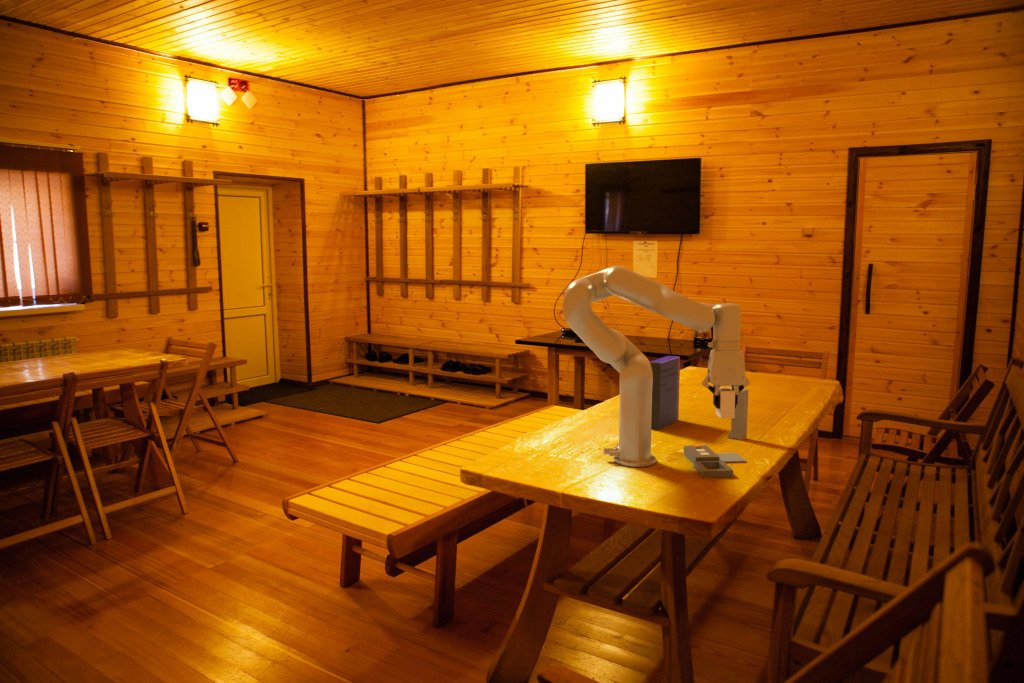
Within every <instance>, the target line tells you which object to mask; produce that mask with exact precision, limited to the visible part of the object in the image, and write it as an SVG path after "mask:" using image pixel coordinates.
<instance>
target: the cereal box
mask: <svg viewBox="0 0 1024 683" xmlns="http://www.w3.org/2000/svg"><path fill="white" fill-rule="evenodd" d="M649 362H650V364H651V367H652V372H653V385H652V418H651V430H653V429H655V430H654V431H661V430H662V428H663V429H664V427H665V428H667V427H668V426H670V425H672V424H674V423H675V421H676V422H678V421H679V418H680V417H679V415H680V413H679V412H680V410H679V408H680V378H681V377H680V376H681V375H680V374H681V373H680V371H681V357H680V356H678V355H677V356H676V355H666V356H662V357H660V358H657V359H654V360H651V361H649ZM677 420H678V421H677ZM666 426H667V427H666ZM660 429H661V430H660Z"/></svg>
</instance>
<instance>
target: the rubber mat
mask: <svg viewBox="0 0 1024 683" xmlns="http://www.w3.org/2000/svg"><path fill="white" fill-rule="evenodd" d="M715 453H716V452H715ZM716 454H717V455H718V456H719V460H722V461H723V462H735V464H739V462H740V463H741V464H742V463H743V462H744V463H747V460H746V459H745V458H743V456H741V455H740V454H739V453H738V452H722V453H721V452H719V453H716Z"/></svg>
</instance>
